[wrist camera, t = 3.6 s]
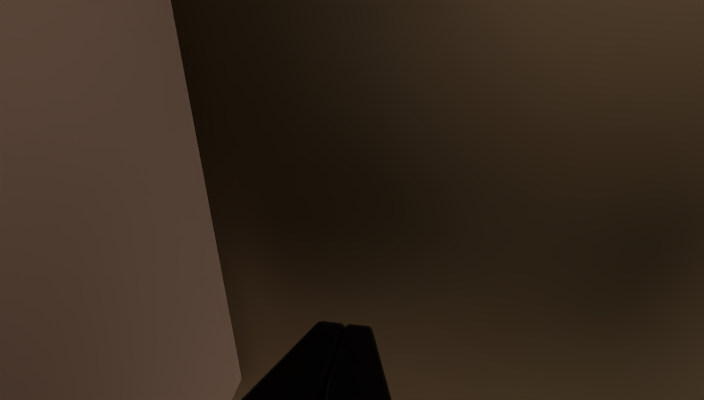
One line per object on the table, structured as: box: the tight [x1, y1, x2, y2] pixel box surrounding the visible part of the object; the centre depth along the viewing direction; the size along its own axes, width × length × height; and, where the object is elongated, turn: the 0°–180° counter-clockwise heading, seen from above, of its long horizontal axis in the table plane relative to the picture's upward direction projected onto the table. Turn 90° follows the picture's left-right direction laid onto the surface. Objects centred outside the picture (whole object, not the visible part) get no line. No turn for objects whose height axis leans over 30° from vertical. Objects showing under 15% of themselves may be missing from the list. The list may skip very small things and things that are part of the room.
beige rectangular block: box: [0, 0, 242, 400], centre depth 10 cm, size 12×3×7 cm, turn 2°
